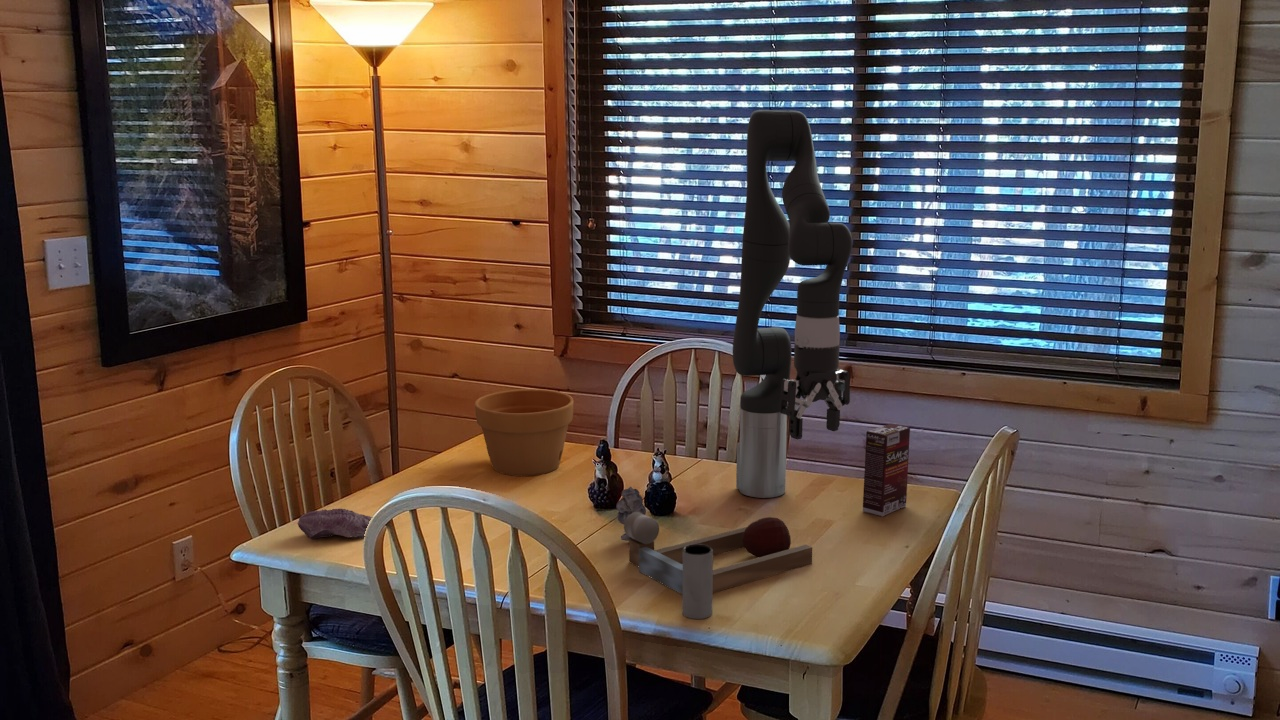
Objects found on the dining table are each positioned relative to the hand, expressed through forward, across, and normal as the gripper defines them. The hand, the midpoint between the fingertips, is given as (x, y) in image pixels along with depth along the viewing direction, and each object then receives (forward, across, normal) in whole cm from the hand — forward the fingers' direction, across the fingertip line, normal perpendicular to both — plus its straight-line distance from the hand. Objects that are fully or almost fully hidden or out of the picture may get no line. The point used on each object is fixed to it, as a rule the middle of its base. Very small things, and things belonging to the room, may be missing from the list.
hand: (814, 434), depth 204 cm
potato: (+21, +9, -1) cm, 23 cm away
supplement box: (+21, -26, -6) cm, 34 cm away
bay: (+20, +18, -4) cm, 28 cm away
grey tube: (+20, +34, +10) cm, 41 cm away
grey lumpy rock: (+21, +23, -21) cm, 38 cm away
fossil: (+21, +64, -55) cm, 87 cm away
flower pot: (+21, +15, -72) cm, 77 cm away
